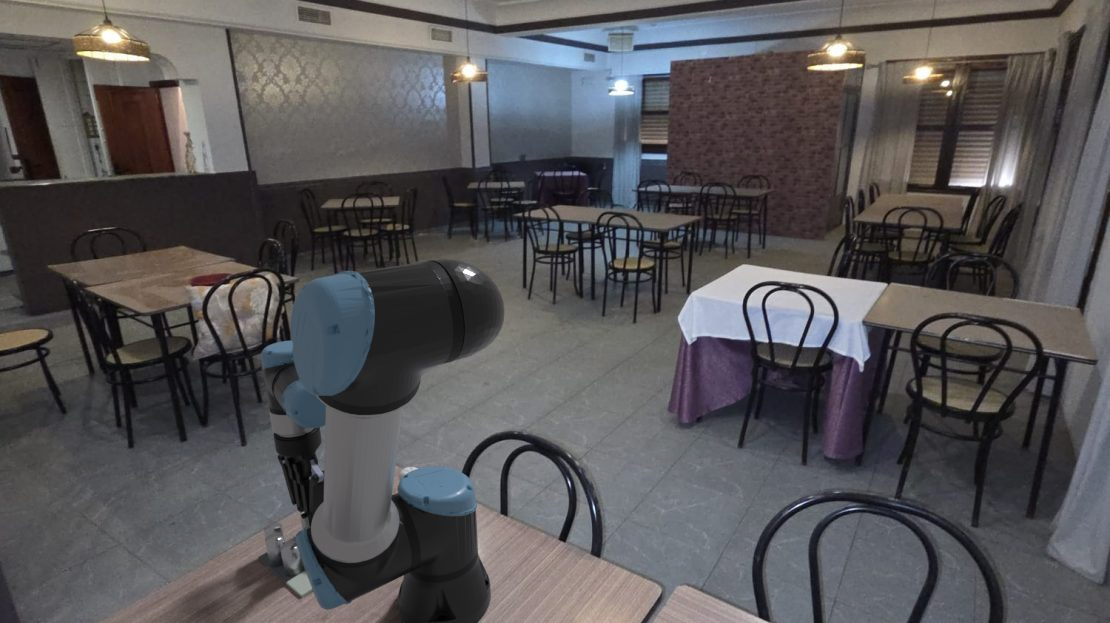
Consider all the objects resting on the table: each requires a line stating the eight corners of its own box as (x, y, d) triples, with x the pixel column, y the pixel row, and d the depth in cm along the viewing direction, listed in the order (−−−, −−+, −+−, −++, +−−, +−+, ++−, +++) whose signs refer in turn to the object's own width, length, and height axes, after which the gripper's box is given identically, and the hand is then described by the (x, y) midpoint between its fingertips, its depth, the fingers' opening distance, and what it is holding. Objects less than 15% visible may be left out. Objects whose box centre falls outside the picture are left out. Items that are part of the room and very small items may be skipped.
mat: (381, 546, 110) (381, 544, 110) (302, 597, 98) (301, 594, 98) (336, 516, 119) (336, 513, 119) (258, 559, 107) (258, 557, 107)
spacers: (363, 534, 113) (360, 512, 111) (287, 580, 101) (283, 556, 100) (332, 514, 119) (329, 493, 118) (257, 555, 108) (253, 532, 106)
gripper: (336, 430, 102) (351, 544, 108) (297, 410, 109) (313, 518, 116) (295, 447, 96) (314, 567, 103) (257, 425, 104) (276, 537, 110)
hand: (313, 540), depth 109 cm, fingers closed
